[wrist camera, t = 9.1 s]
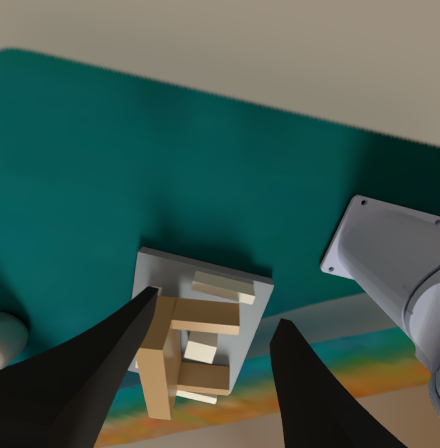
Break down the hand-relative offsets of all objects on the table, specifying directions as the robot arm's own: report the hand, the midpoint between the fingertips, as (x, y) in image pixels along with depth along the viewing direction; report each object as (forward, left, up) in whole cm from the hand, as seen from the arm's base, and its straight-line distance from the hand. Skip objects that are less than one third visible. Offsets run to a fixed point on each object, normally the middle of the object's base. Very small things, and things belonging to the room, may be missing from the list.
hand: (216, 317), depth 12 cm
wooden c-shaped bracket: (0, +11, -8) cm, 13 cm away
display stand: (+1, +11, -10) cm, 15 cm away
